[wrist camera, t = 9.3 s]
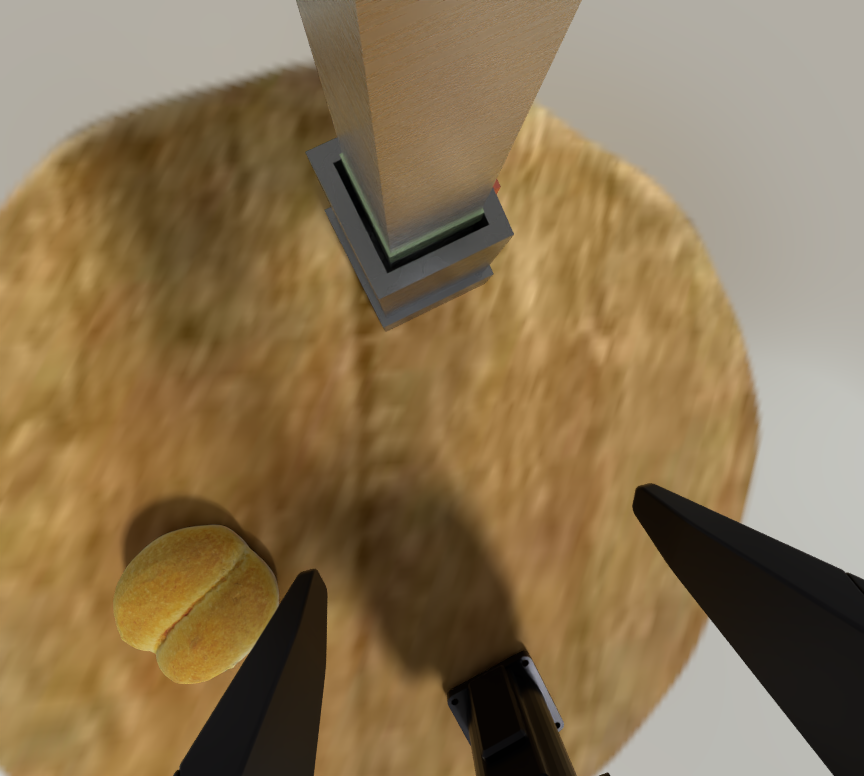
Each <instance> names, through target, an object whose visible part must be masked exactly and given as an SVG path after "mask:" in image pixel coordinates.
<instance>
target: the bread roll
mask: <svg viewBox="0 0 864 776" xmlns="http://www.w3.org/2000/svg"><path fill="white" fill-rule="evenodd" d="M278 606H279V589H278V585H277V581H276V578H275V575H274V573H273V572H272V570H271V569H270V568H269V566H268V565H267V564H266V562H264V560H263V559H262V558H260V557H259V556H258V555H257V554H256V553H255V552H254V551H252V550H251V549H250V548H249V547H248V545H247V544H246V542H245V541H244V540H243V539H242V538H241V537H240V536H238V535H237V534H236V533H235V532H234V531H233V530H231V529H229V528H228V527H226V526H222V525H203V526H194V527H187V528H183V529H179V530H176V531H173V532H169V533H167V534H165V535H163V536H160V537H159V538H157V539H156V540H154V541H153V542H151V543H150V544H149V545H148V546H146V547H145V548H144V549H143V550H142V551H141V552H140V553H139V554H138V555H137V556H136V557H135V558H134V559H133V560H132V561H131V562H130V563H129V565H128V566H127V568H126V569H125V571H124V572H123V574H122V576H121V578H120V580H119V582H118V584H117V586H116V590H115V595H114V599H113V609H114V617H115V620H116V625H117V628H118V631H119V633H120V636H121V639H122V640H123V641H125V642H126V643H128V644H129V645H131V646H132V647H134V648H136V649H139V650H144V651H151V652H153V653H155V654H156V658H157V662H158V665H159V668H160V669H161V671H162V672H163V673H164V675H165V676H167V677H168V678H170V679H171V680H172V681H174V682H175V683H179V684H192V683H200V682H204V681H207V680H210V679H212V678H213V677H215V676H217V675H219V674H221V673H222V672H224V671H226V670H228V669H229V668H230V669H231V668H233V667H234V666H235V664H236V663H237V662H239V661H240V660H242V659H243V658H244V657H245V656H246V655H247V654H248V653H249V652H250V651H251V650H252V648H253V646H254V645H255V643H256V641H257V640H258V638H259V637H260V635H261V633H262V632H263V630H264V629H265V627H266V625H267V624H268V622H269V621H270V619H271V617H272V616H273V614H274V613H275V611H276V609H277V608H278Z"/></svg>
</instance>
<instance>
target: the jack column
mask: <svg viewBox="0 0 864 776" xmlns="http://www.w3.org/2000/svg"><path fill="white" fill-rule="evenodd" d="M296 1H297V5H298V8H299V12H300V15H301V18H302V22H303V25H304V28H305V31H306V35H307V38H308V41H309V44H310V48H311V51H312V55H313V58H314V61H315V65H316V68H317V71H318V75H319V78H320V81H321V85H322V88H323V91H324V95H325V98H326V101H327V105H328V108H329V111H330V115H331V118H332V121H333V125H334V128H335V131H336V135H337V138H338V141H339V144H340V148H341V151H342V153H341V154H339V155H340V158H341V161H342V165H343V167H344V169H345V171H346V173H347V175H348V177H349V179H350V182H351V184H352V188H353V191H354V193H355V195H356V197H357V199H358V201H359V203H360V205H361V207H362V209H363V211H364V213H365V215H366V217H367V220H368V222H369V224H370V226H371V228H372V230H373V232H374V234H375V236H376V238H377V240H378V242H379V244H380V246H381V248H382V250H383V252H384V254H385V256H386V258H387V260H388V262H389V265H390V267H391V269H392V271H394V270H396V269H398V268H400V267H402V266H404V265H406V264H409V263H411V262H413V261H415V260H417V259H419V258H421V257H423V256H425V255H427V254H429V253H432V252H434V251H436V250H438V249H440V248H442V247H444V246H446V245H448V244H450V243H452V242H454V241H457V240H459V239H461V238H463V237H465V236H467V235H469V234H471V231H472V229H473V227H474V225H475V223H476V222H478V221H480V220H481V218H482V216H483V214H484V210H483V206H484V204H485V202H486V200H487V198H488V196H489V194H490V192H491V189H492V187H493V185H494V183H495V181H496V179H497V177H498V175H499V173H500V171H501V169H502V166H503V164H504V162H505V160H506V158H507V156H508V154H509V152H510V150H511V148H512V145H513V143H514V141H515V139H516V137H517V135H518V133H519V131H520V129H521V127H522V124H523V122H524V120H525V118H526V116H527V114H528V112H529V110H530V108H531V106H532V103H533V101H534V99H535V97H536V95H537V93H538V91H539V89H540V87H541V85H542V82H543V80H544V78H545V76H546V74H547V72H548V70H549V68H550V66H551V63H552V62H553V59H554V57H555V55H556V53H557V51H558V49H559V47H560V45H561V43H562V41H563V38H564V36H565V34H566V32H567V30H568V28H569V26H570V24H571V22H572V20H573V17H574V15H575V13H576V11H577V9H578V7H579V5H580V3H581V1H582V0H296Z"/></svg>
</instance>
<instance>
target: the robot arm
mask: <svg viewBox="0 0 864 776" xmlns="http://www.w3.org/2000/svg"><path fill="white" fill-rule="evenodd" d="M632 508H633V512H634V514H635V516H636V517H637V519H638V520H639V522H640V523H641V525H642V526H643V528H644V529H645V531H646V532H647V534H648V535H649V537H650V539H651V540H652V542H653V543H654V545H655V546H656V548H657V549H658V551H659V552H660V554H661V555H662V557H663V558H664V560H665V561H666V563H667V564H668V565H669V567H670V568H671V570H672V571H673V572H674V574H675V575H676V576H677V578H678V579H679V580H680V581H681V583H682V584H683V585H684V586H685V588H686V589H687V590H688V591H689V593H690V594H691V595H692V597H693V598H694V599H695V600H696V602H697V603H698V604H699V605H700V607H701V608H702V609H703V610H704V612H705V613H706V614H707V616H708V617H709V618H710V619H711V621H712V622H713V623H714V624H715V626H716V627H717V628H718V629H719V631H720V632H721V633H722V635H723V636H724V637H725V638H726V640H727V641H728V642H729V643H730V645H731V646H732V647H733V648H734V650H735V651H736V652H737V654H738V655H739V656H740V657H741V659H742V660H743V661H744V662H745V664H746V665H747V666H748V668H749V669H750V670H751V671H752V673H753V674H754V675H755V676H756V678H757V679H758V680H759V682H760V683H761V684H762V685H763V686H764V688H765V689H766V690H767V692H768V693H769V694H770V695H771V697H772V698H773V699H774V700H775V702H776V703H777V704H778V706H779V707H780V708H781V709H782V711H783V712H784V713H785V714H786V716H787V717H788V718H789V719H790V721H791V722H792V723H793V725H794V726H795V727H796V728H797V730H798V731H799V732H800V733H801V735H802V736H803V737H804V739H805V740H806V741H807V742H808V744H809V745H810V746H811V747H812V749H813V750H814V751H815V752H816V754H817V755H818V756H819V758H820V759H821V760H822V761H823V763H824V764H825V765H826V766H827V768H828V769H829V770H830V772H831V773H832V774H833V775H834V776H864V579H862V578H859V577H857V576H855V575H853V574H851V573H845V572H844V571H843V570H842V569H839V568H837V567H835V566H833V565H831V564H828V563H826V562H824V561H822V560H820V559H818V558H815V557H813V556H811V555H809V554H806V553H804V552H802V551H800V550H798V549H795V548H793V547H791V546H789V545H787V544H785V543H782V542H780V541H778V540H776V539H774V538H772V537H769V536H767V535H765V534H763V533H761V532H759V531H756V530H754V529H752V528H750V527H748V526H745V525H743V524H741V523H739V522H737V521H734V520H732V519H730V518H728V517H726V516H724V515H721V514H719V513H717V512H715V511H713V510H710V509H708V508H706V507H704V506H702V505H699V504H697V503H695V502H693V501H691V500H689V499H686V498H684V497H682V496H680V495H678V494H675V493H673V492H671V491H669V490H667V489H664V488H662V487H660V486H658V485H656V484H652V483H649V484H644V485H641V486H638V487H637V488H636V490H635V495H634V500H633V505H632ZM326 647H327V588H326V585H325V583H324V581H323V580H322V578H321V576H320V574H319V572H318V570H316V569H310V570H307V571H303V572H301V573H299V574H298V576H297V577H296V579H295V580H294V582H293V584H292V585H291V587H290V588H289V590H288V592H287V593H286V595H285V596H284V598H283V600H282V601H281V603H280V604H279V606H278V608H277V609H276V611H275V613H274V614H273V616H272V617H271V619H270V621H269V622H268V624H267V625H266V627H265V629H264V630H263V632H262V633H261V635H260V637H259V638H258V640H257V641H256V643H255V645H254V646H253V648H252V650H251V651H250V653H249V654H248V656H247V658H246V659H245V661H244V662H243V664H242V666H241V667H240V669H239V670H238V672H237V674H236V675H235V677H234V679H233V680H232V682H231V683H230V685H229V687H228V688H227V690H226V691H225V693H224V695H223V696H222V698H221V699H220V701H219V703H218V704H217V706H216V708H215V709H214V711H213V712H212V714H211V716H210V717H209V719H208V720H207V722H206V724H205V725H204V727H203V728H202V730H201V732H200V733H199V735H198V737H197V738H196V740H195V741H194V743H193V745H192V746H191V748H190V749H189V751H188V753H187V754H186V756H185V757H184V759H183V761H182V762H181V764H180V768H179V770H177V771H176V772H175V773H174V775H173V776H314V769H315V760H316V751H317V742H318V733H319V724H320V715H321V706H322V698H323V689H324V680H325V669H326ZM523 660H525V661H523ZM455 698H456V699H455ZM447 701H448V706H449V707H450V709H451V711H452V713H453V715H454V716H455V718H456V720H457V722H458V724H459V726H460V727H461V729H462V731H463V733H464V735H465V737H466V738H467V740H468V742H469V744H470V746H471V748H472V754H473V760H474V766H475V772H476V776H577V775H576V773H575V771H574V768H573V766H572V763H571V761H570V759H569V756H568V754H567V751H566V749H565V747H564V744H563V742H562V739H561V737H560V735H559V731H561V730H562V728H563V727H564V723H563V720H562V718H561V716H560V714H559V712H558V710H557V708H556V706H555V704H554V702H553V700H552V698H551V696H550V694H549V692H548V690H547V688H546V686H545V684H544V682H543V680H542V678H541V676H540V674H539V672H538V670H537V669H536V667H535V665H534V663H533V661H532V659H531V657H530V655H529V653H528V652H526V651H522V652H519V653H518V654H516V655H514V656H512V657H510V658H508V659H507V660H505V661H503V662H501V663H499V664H498V665H496V666H494V667H492V668H490V669H488V670H487V671H485V672H483V673H481V674H479V675H477V676H476V677H474V678H472V679H470V680H468V681H467V682H465V683H463V684H461V685H459V686H457V687H456V688H454V689H452V690H450V691H449V692H448V694H447ZM599 776H610V774H609V773H605V774H602V775H599Z"/></svg>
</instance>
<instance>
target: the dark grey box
mask: <svg viewBox="0 0 864 776" xmlns="http://www.w3.org/2000/svg"><path fill="white" fill-rule="evenodd" d="M341 153H342V151H341V148H340V144H339V141H338V138H335V139H333V140H330V141H328V142H326V143H324V144H322V145H319V146H317V147H315V148H313V149H311V150H308V151H306V154H307V157H308V159H309V161H310V163H311V165H312V167H313V169H314V172H315V174H316V176H317V178H318V180H319V182H320V184H321V186H322V189H323V191H324V193H325V195H326V197H327V199H328V201H329V203H330V206H331V207H330V208H328V209H325V212H326V214H327V216H328V218H329V220H330V222H331V224H332V226H333V228H334V230H335V232H336V234H337V236H338V238H339V240H340V242H341V244H342V246H343V248H344V250H345V252H346V254H347V256H348V258H349V260H350V262H351V264H352V266H353V268H354V270H355V272H356V274H357V276H358V278H359V280H360V282H361V284H362V286H363V288H364V290H365V292H366V294H367V296H368V298H369V300H370V302H371V304H372V306H373V308H374V310H375V312H376V314H377V316H378V318H379V320H380V322H381V324H382V326H383V328H384V330H385V331H388V330H390V329H392V328H394V327H397V326H399V325H401V324H403V323H405V322H407V321H409V320H411V319H413V318H415V317H417V316H419V315H421V314H423V313H425V312H427V311H429V310H431V309H433V308H435V307H438V306H440V305H442V304H444V303H446V302H448V301H450V300H452V299H454V298H456V297H458V296H460V295H462V294H464V293H466V292H468V291H470V290H472V289H474V288H476V287H479V286H481V285H483V284H485V283H486V282H487V281H488V280H489V279H490V277H491V276H492V275H493V272H492V269H491V267H490V264H491V262H492V261H493V260H494V259H495V257H496V256H497V255H498V254H499V252H500V251H501V250H502V249H503V247H504V246H505V245H506V244H507V243H508V241H509V240H510V239H511V238H512V236H513V235H514V233H513V231H512V229H511V227H510V224H509V222H508V220H507V217H506V215H505V213H504V211H503V208H502V206H501V204H500V202H499V199H498V197H497V193H498V191H499V189H500V185H499V182H498V180H497V179H496V181H495V183H494V185H493V187H492V189H491V192H490V194H489V196H488V198H487V200H486V202H485V204H484V206H483V210H484V214H483V216H482V218H481V220H480V221H478V222H476V223H475V225H474V227H473V229H472V231H471V234H469V235H467V236H465V237H463V238H461V239H459V240H457V241H454V242H452V243H450V244H448V245H446V246H444V247H442V248H440V249H438V250H436V251H434V252H432V253H429V254H427V255H425V256H423V257H421V258H419V259H417V260H415V261H413V262H411V263H409V264H406V265H404V266H402V267H400V268H398V269H396V270H394V271H392V269H391V267H390V265H389V262H388V260H387V258H386V256H385V254H384V252H383V250H382V248H381V246H380V244H379V242H378V240H377V238H376V236H375V234H374V232H373V230H372V228H371V226H370V224H369V222H368V220H367V217H366V215H365V213H364V211H363V209H362V207H361V205H360V203H359V201H358V199H357V197H356V195H355V193H354V191H353V188H352V184H351V182H350V179H349V177H348V175H347V173H346V171H345V169H344V167H343V165H342V161H341V158H340V155H339V154H341Z"/></svg>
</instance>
